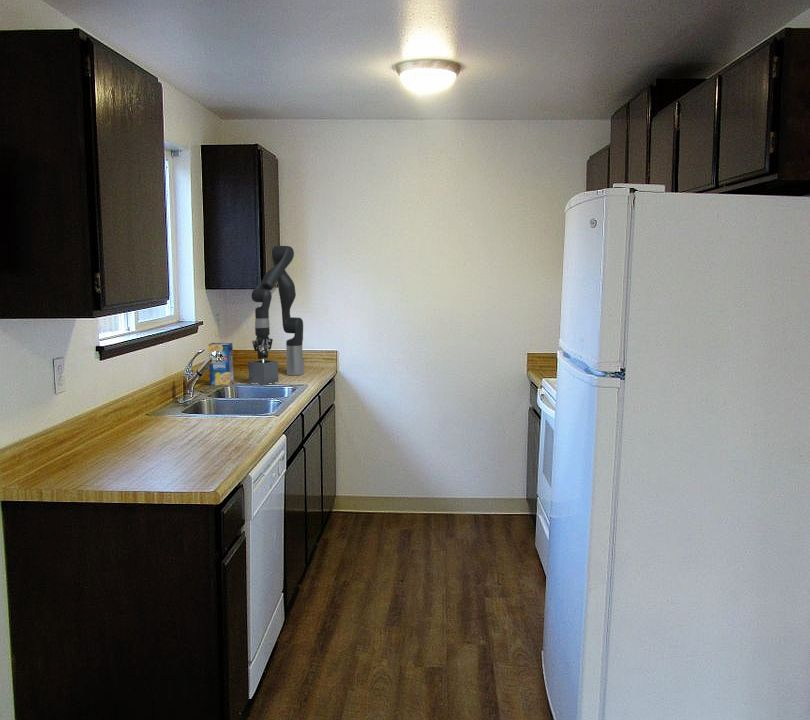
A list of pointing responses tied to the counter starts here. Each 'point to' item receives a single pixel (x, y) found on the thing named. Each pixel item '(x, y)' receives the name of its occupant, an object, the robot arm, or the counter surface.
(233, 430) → the counter surface
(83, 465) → the counter surface
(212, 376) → the beverage box
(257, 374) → the gray open box
